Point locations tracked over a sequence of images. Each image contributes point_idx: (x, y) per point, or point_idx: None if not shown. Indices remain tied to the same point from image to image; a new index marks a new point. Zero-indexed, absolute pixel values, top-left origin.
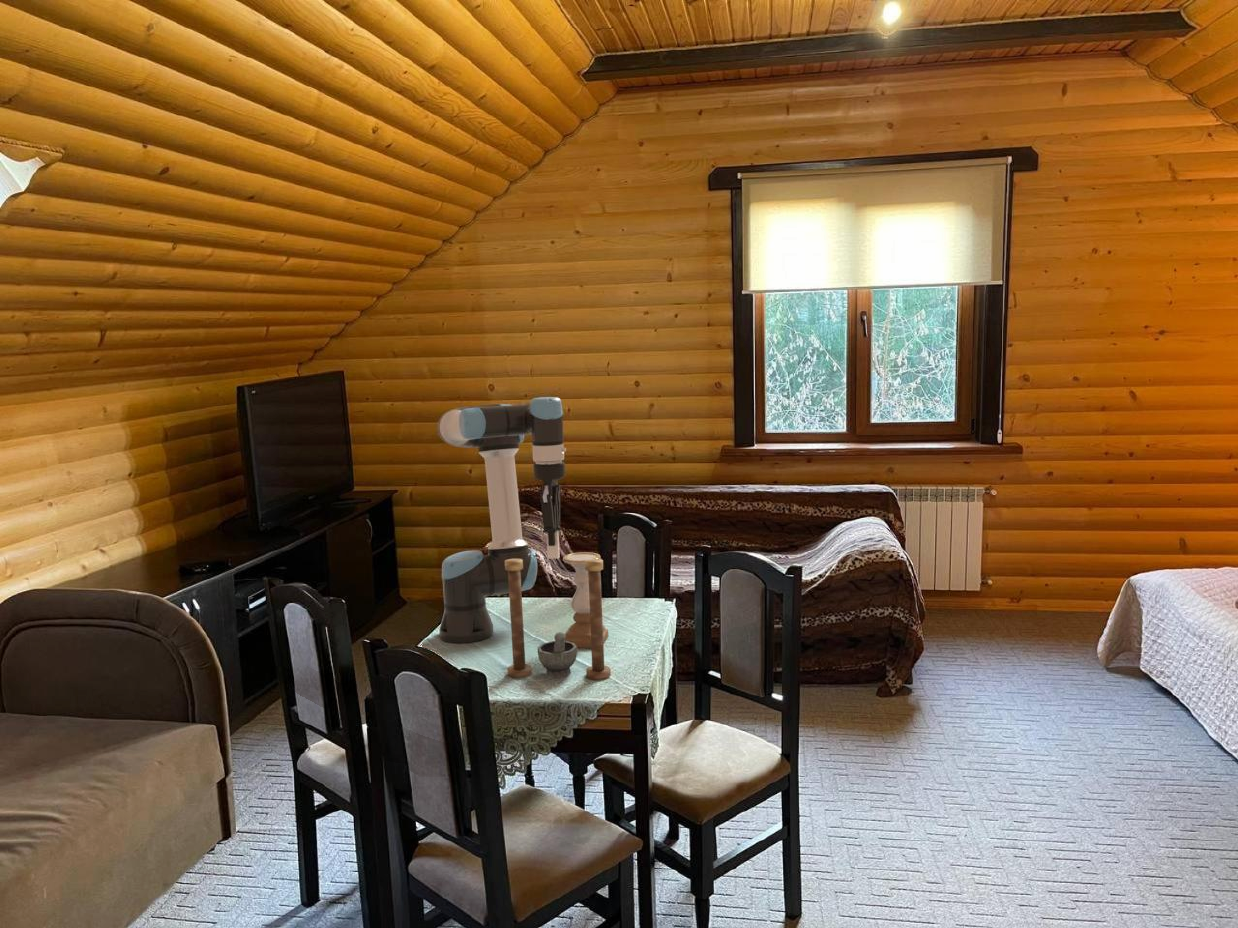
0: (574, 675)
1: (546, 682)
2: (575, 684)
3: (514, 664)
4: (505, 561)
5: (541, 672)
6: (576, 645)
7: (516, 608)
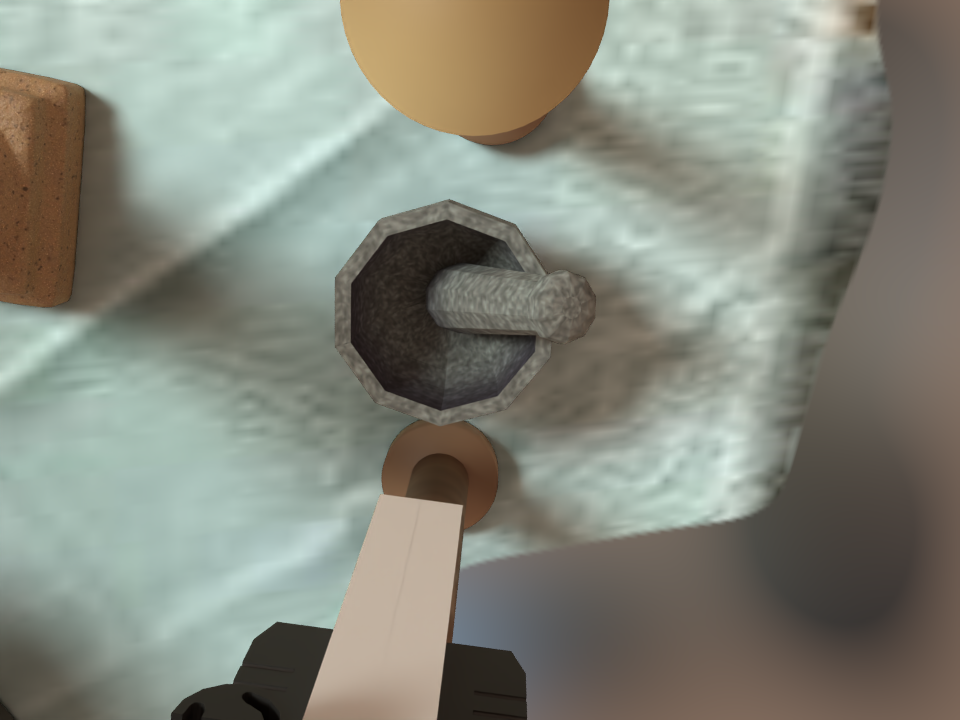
0: (483, 206)
1: None
2: (605, 194)
3: None
4: None
5: None
6: (71, 221)
7: None
